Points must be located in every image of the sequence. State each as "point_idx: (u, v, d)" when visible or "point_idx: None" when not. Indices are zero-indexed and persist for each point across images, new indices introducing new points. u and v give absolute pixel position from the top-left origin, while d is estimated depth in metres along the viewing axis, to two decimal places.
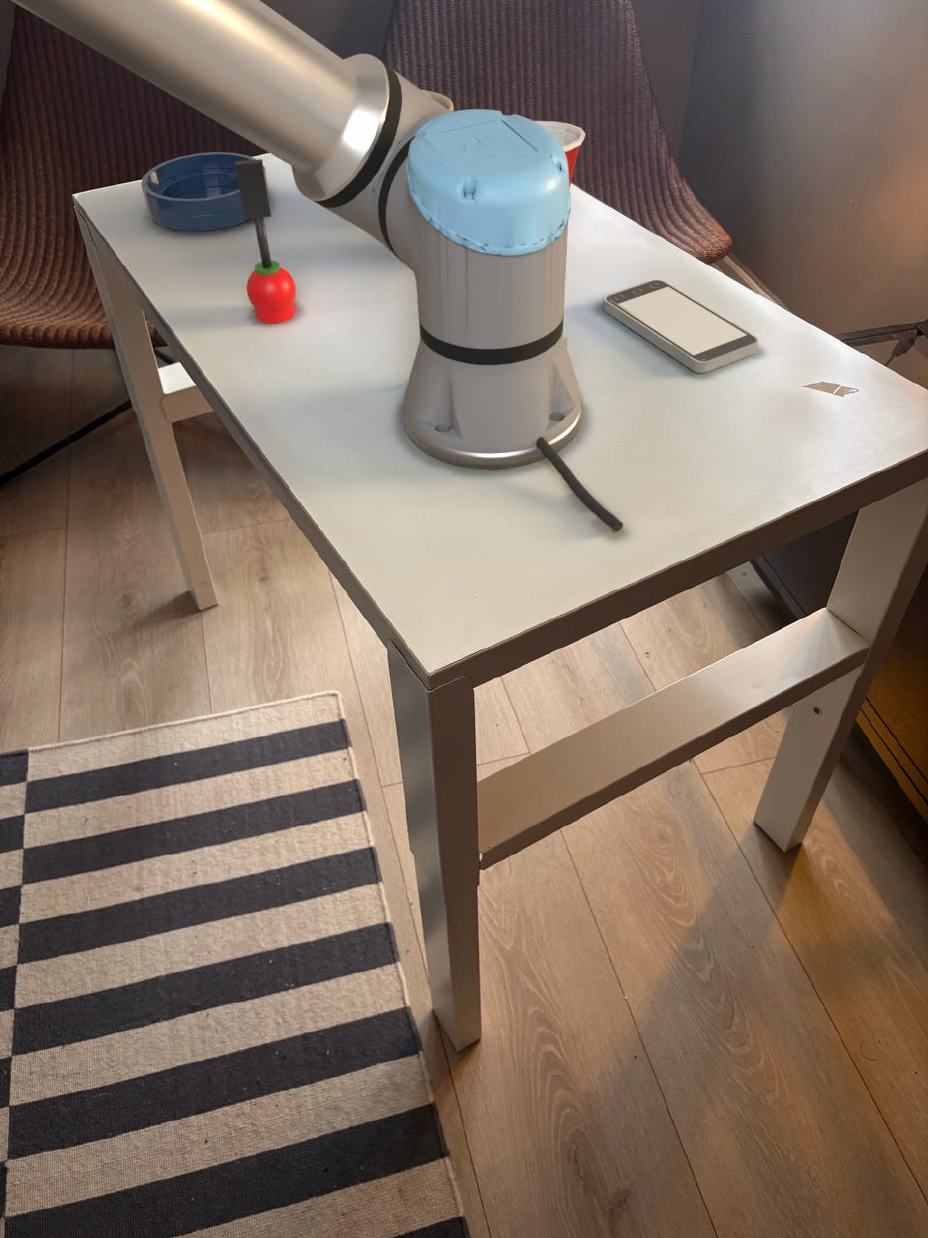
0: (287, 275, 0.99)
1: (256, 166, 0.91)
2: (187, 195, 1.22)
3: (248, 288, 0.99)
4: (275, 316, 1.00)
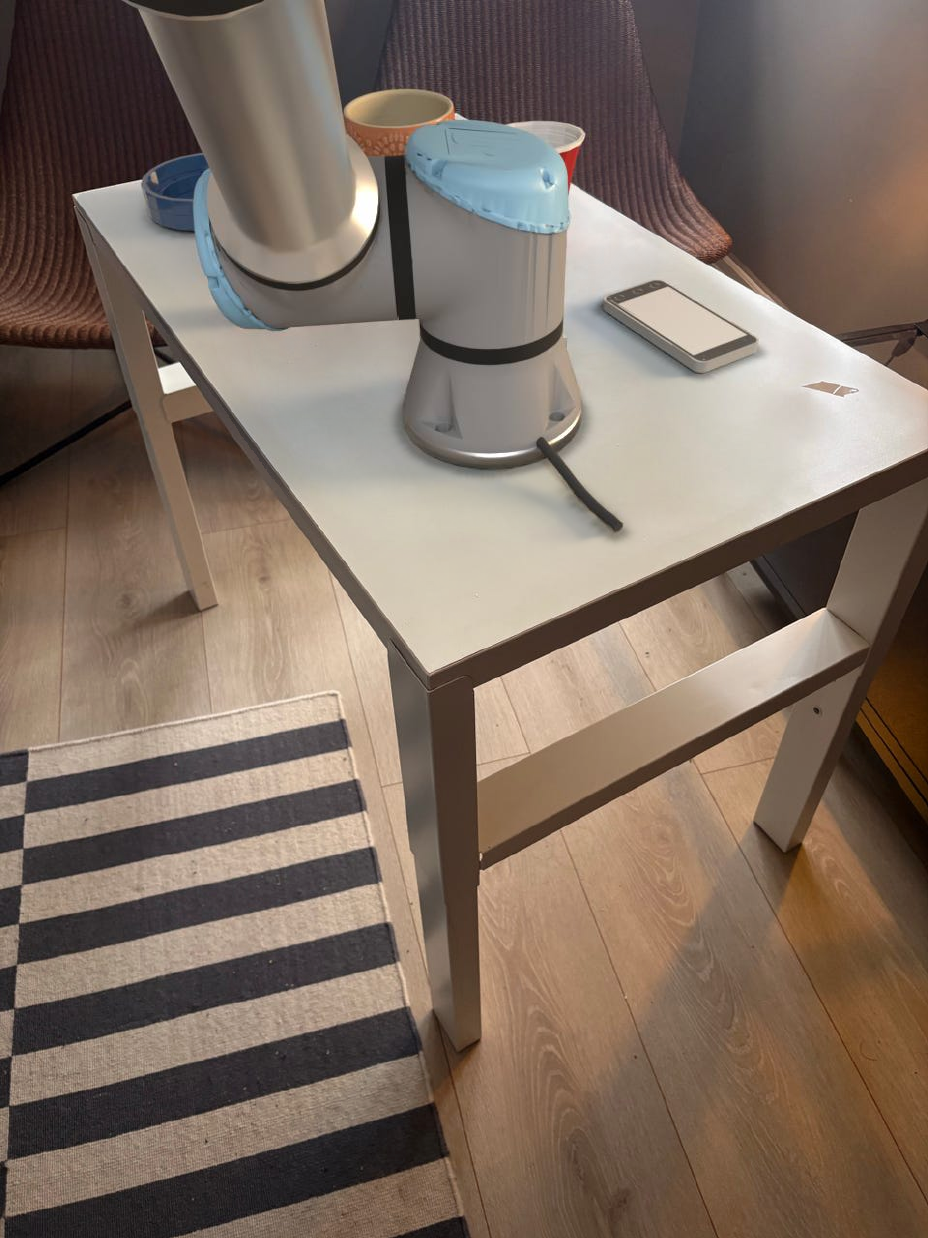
0: None
1: None
2: (187, 195, 1.22)
3: None
4: None
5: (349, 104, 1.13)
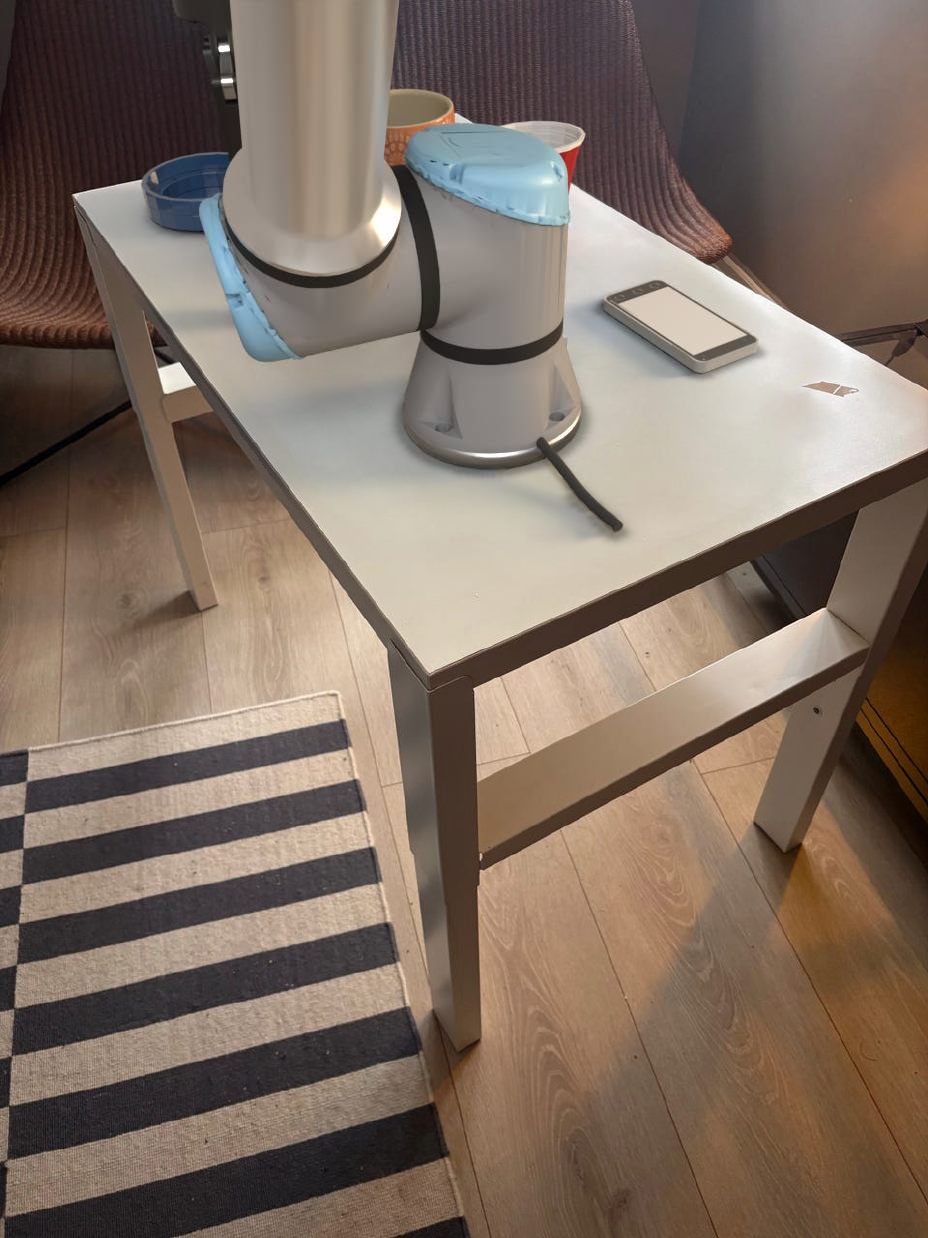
0: None
1: None
2: (187, 195, 1.22)
3: None
4: None
5: None
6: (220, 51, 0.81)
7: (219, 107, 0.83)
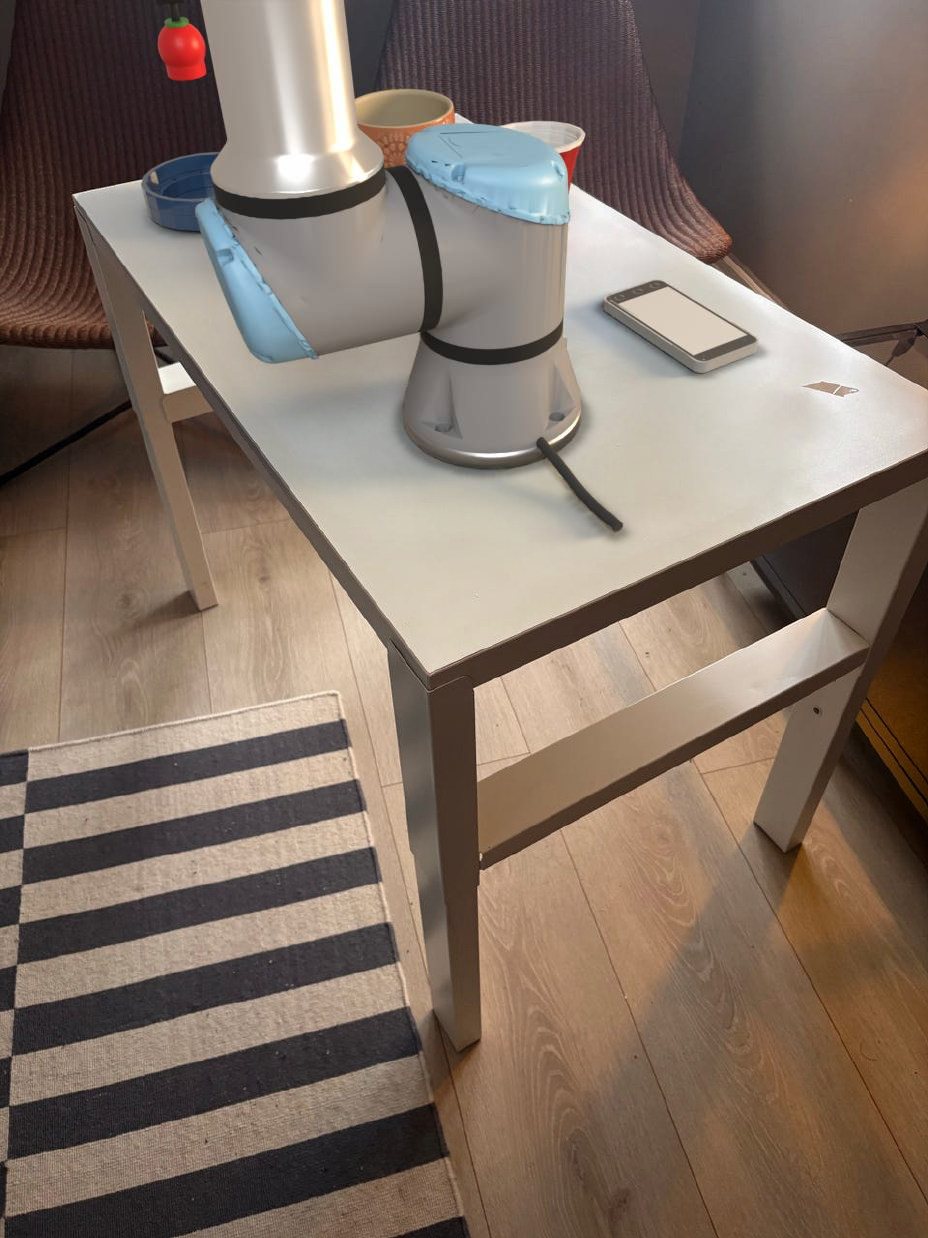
0: (196, 30, 1.04)
1: None
2: (187, 195, 1.22)
3: (159, 42, 1.04)
4: (185, 72, 1.05)
5: None
6: None
7: None
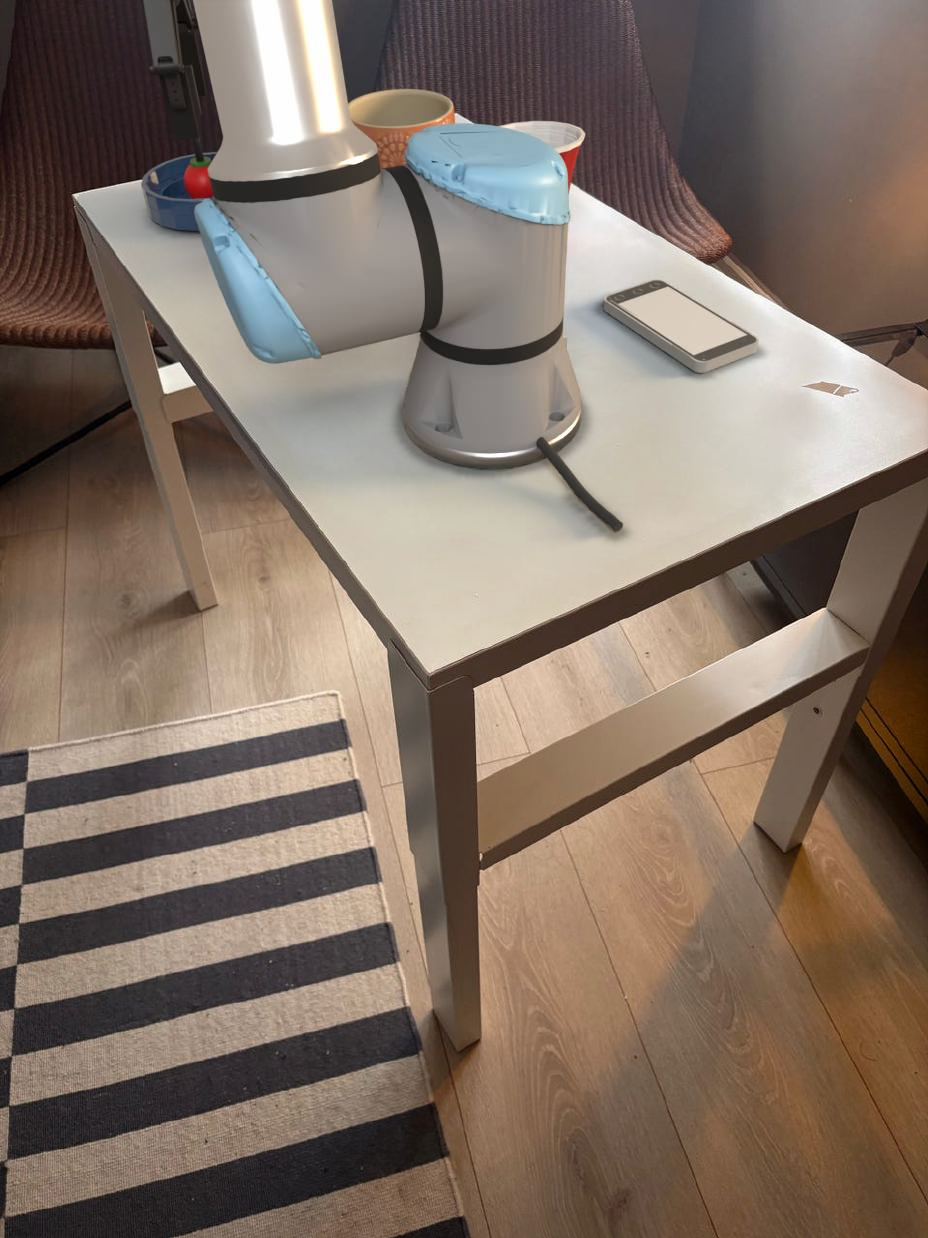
0: None
1: (187, 70, 1.09)
2: (187, 195, 1.22)
3: (185, 179, 1.17)
4: None
5: (349, 104, 1.13)
6: None
7: None
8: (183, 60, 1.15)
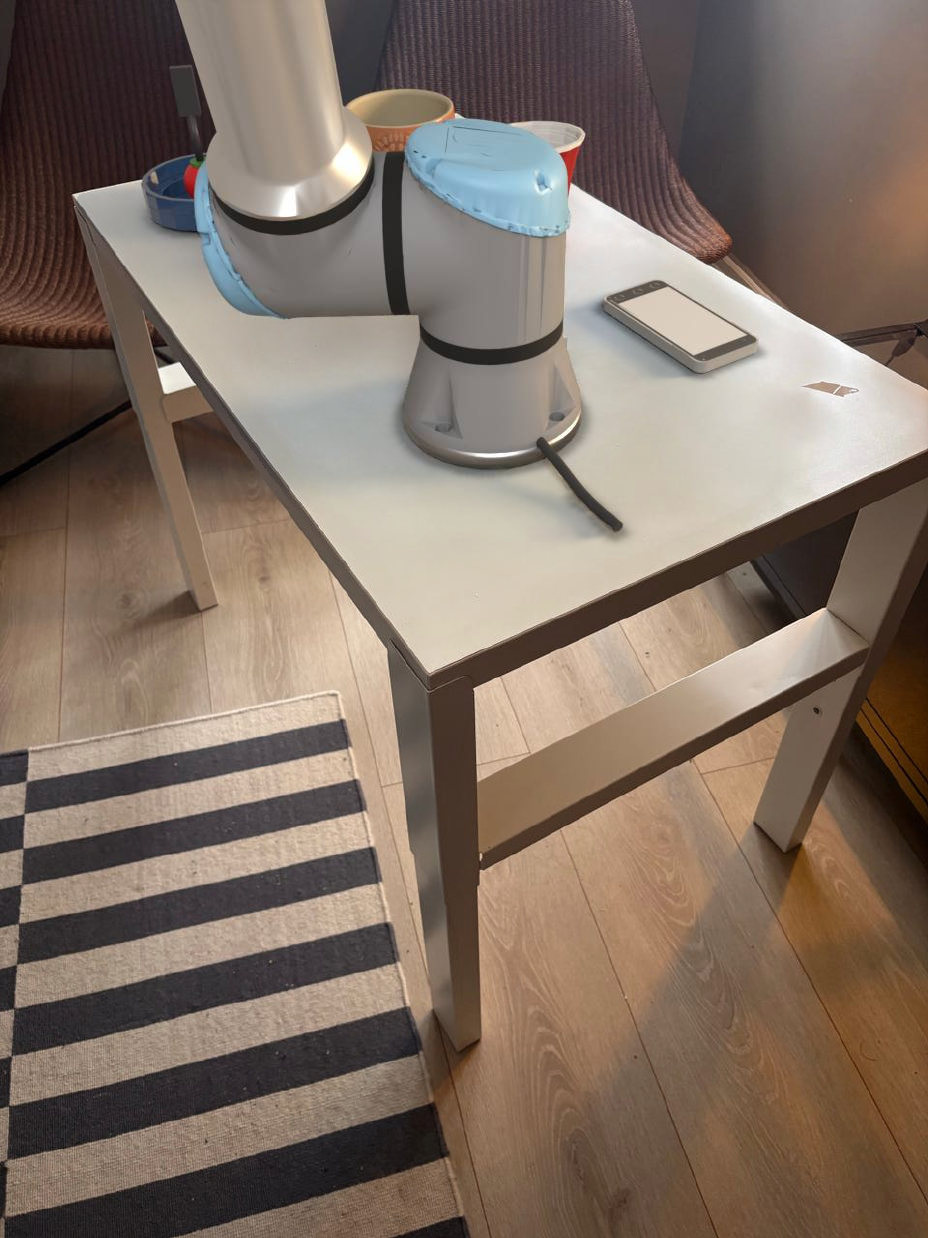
0: None
1: (187, 70, 1.09)
2: (187, 195, 1.22)
3: (185, 179, 1.17)
4: None
5: (349, 104, 1.13)
6: None
7: None
8: None
